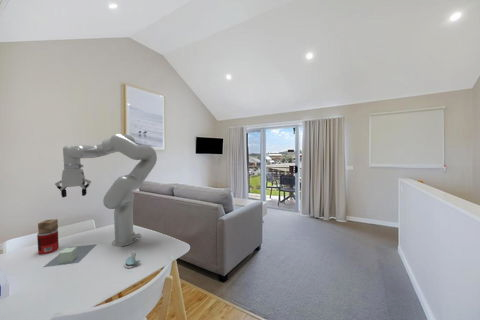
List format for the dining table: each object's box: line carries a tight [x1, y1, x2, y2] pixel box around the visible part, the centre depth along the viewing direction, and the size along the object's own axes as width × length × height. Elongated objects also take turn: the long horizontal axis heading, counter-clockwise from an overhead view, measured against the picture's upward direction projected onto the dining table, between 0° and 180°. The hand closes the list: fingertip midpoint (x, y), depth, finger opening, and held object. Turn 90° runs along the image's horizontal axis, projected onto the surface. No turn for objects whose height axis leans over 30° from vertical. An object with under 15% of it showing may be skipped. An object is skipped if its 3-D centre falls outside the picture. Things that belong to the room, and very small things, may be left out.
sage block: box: [58, 246, 77, 264], centre depth 97 cm, size 5×5×5 cm
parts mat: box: [43, 243, 98, 268], centre depth 103 cm, size 14×20×1 cm
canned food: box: [36, 228, 60, 255], centre depth 107 cm, size 8×8×11 cm
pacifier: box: [123, 250, 141, 269], centre depth 93 cm, size 7×6×6 cm
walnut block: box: [37, 218, 59, 234], centre depth 106 cm, size 6×6×6 cm
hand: (74, 196), depth 117 cm, fingers open, 9 cm apart
